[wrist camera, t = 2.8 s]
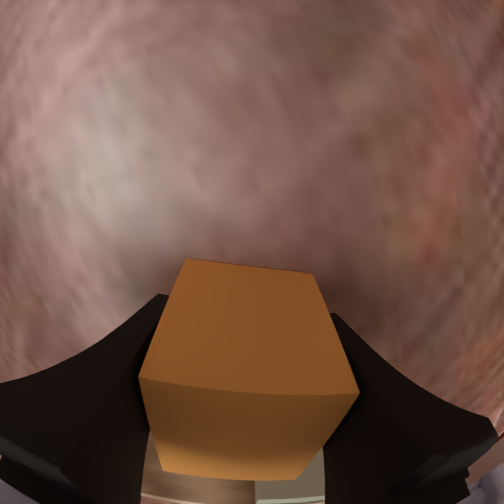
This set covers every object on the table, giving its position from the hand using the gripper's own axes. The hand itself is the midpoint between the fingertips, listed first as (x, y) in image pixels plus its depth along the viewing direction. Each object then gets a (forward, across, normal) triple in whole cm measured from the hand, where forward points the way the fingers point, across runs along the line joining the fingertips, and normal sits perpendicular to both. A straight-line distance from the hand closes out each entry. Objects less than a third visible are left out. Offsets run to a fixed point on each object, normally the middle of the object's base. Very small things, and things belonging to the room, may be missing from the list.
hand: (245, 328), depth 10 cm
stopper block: (+2, 0, +2) cm, 2 cm away
